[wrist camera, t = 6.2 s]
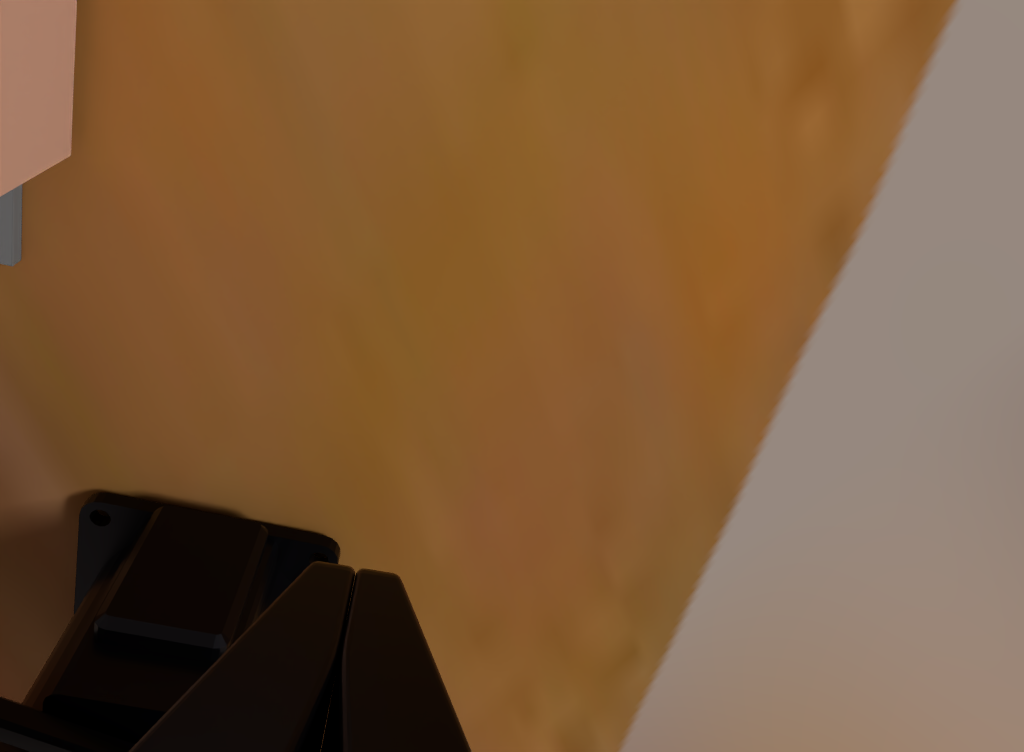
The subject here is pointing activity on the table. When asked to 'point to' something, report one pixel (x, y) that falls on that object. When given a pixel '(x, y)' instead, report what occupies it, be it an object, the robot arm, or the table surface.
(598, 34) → the table surface
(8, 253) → the mat
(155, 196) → the table surface
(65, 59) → the block
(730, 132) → the table surface
